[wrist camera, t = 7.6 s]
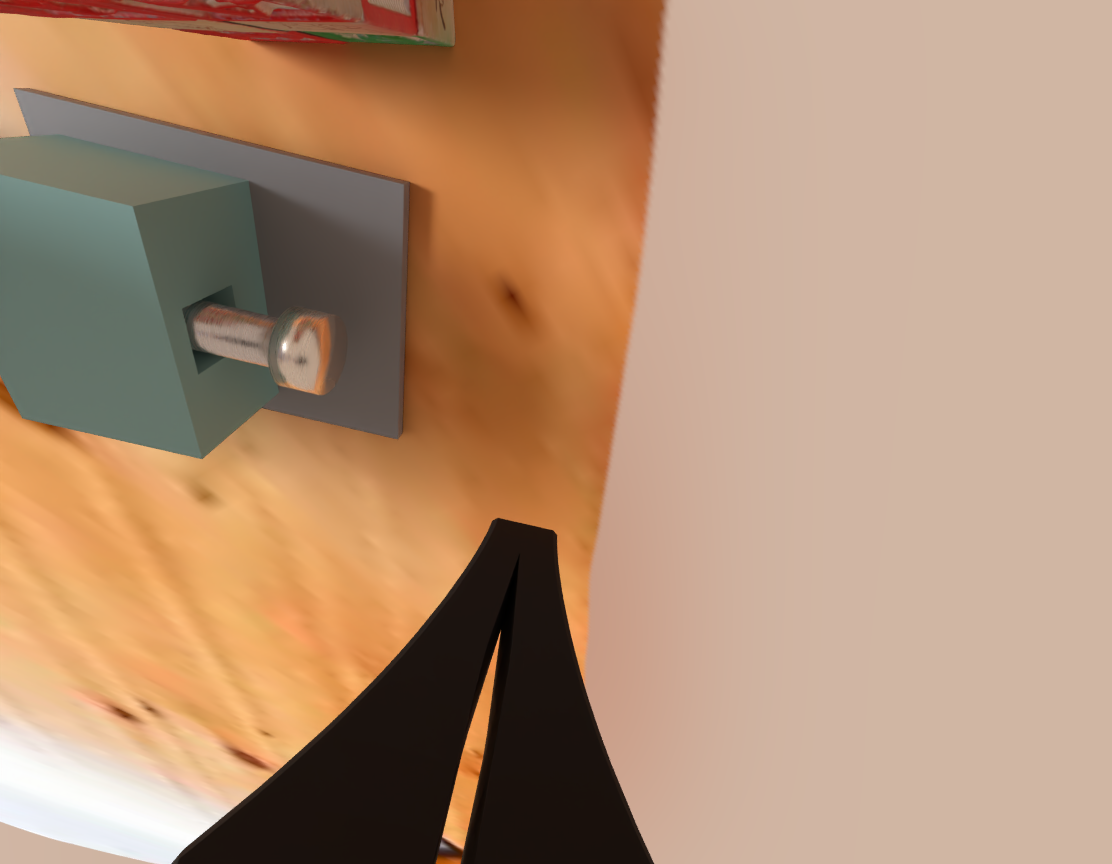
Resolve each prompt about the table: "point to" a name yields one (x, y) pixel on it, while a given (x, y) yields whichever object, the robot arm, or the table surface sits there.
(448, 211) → the table surface
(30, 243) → the bearing block
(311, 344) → the shaft
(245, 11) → the stack of blocks
